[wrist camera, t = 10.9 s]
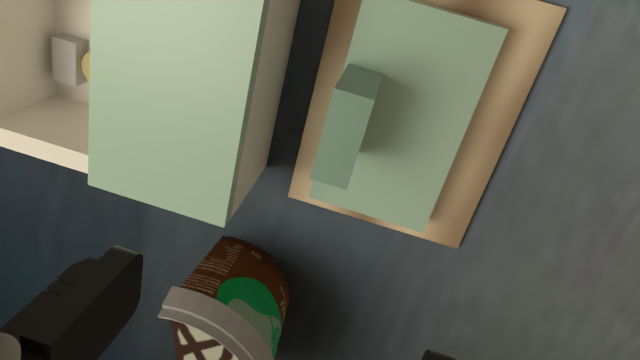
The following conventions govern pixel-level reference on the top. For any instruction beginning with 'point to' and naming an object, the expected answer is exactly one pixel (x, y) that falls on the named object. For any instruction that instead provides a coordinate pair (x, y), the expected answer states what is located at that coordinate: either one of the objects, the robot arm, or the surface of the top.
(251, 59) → the parts tub
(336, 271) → the top surface
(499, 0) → the cork mat
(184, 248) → the top surface
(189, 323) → the food container
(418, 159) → the lid piece
